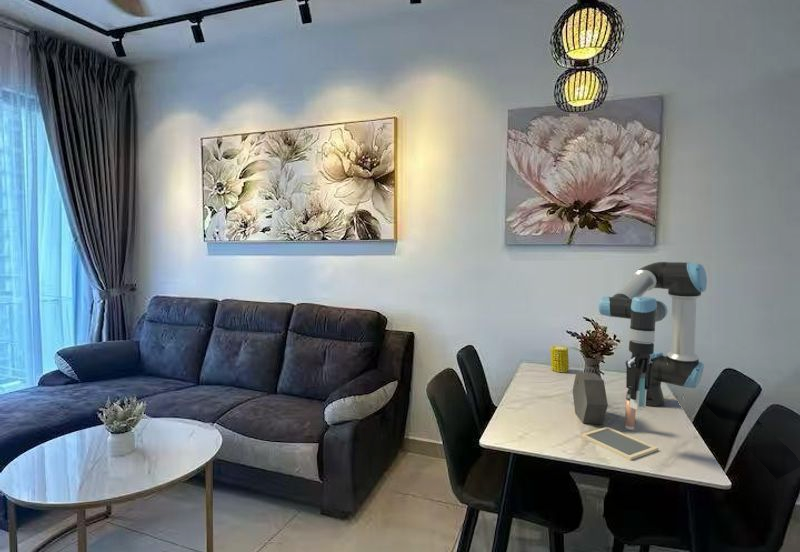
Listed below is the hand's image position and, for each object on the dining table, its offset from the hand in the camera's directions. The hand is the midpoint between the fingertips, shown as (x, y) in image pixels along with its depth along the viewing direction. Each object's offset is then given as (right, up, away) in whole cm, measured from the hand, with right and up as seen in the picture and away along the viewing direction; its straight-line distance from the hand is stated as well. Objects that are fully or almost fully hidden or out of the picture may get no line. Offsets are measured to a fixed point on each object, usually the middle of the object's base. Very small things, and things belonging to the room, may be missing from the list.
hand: (637, 407), depth 149 cm
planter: (-6, -12, +25) cm, 29 cm away
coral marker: (+6, -13, +16) cm, 21 cm away
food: (+7, -8, +92) cm, 93 cm away
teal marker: (0, -1, 0) cm, 1 cm away
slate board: (-6, -14, +3) cm, 15 cm away
